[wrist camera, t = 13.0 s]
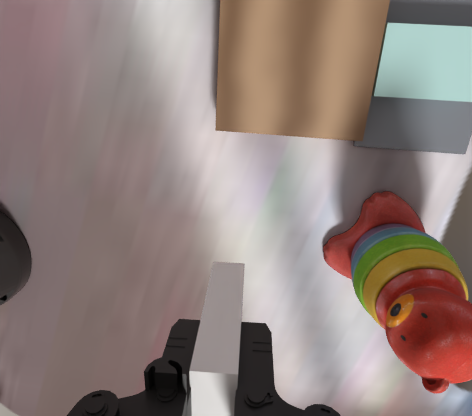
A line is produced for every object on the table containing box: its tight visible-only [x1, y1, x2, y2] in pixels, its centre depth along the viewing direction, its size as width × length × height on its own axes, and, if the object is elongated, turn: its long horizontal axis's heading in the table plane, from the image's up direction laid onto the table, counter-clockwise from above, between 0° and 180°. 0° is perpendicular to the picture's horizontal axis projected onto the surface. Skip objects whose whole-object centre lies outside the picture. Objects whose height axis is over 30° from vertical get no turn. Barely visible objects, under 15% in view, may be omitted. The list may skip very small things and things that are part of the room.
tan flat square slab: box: [216, 0, 390, 141], centre depth 32 cm, size 14×14×3 cm
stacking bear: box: [323, 191, 472, 393], centre depth 32 cm, size 11×10×18 cm
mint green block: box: [372, 23, 472, 102], centre depth 32 cm, size 9×6×2 cm, turn 87°
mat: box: [354, 0, 472, 154], centre depth 33 cm, size 11×16×1 cm
